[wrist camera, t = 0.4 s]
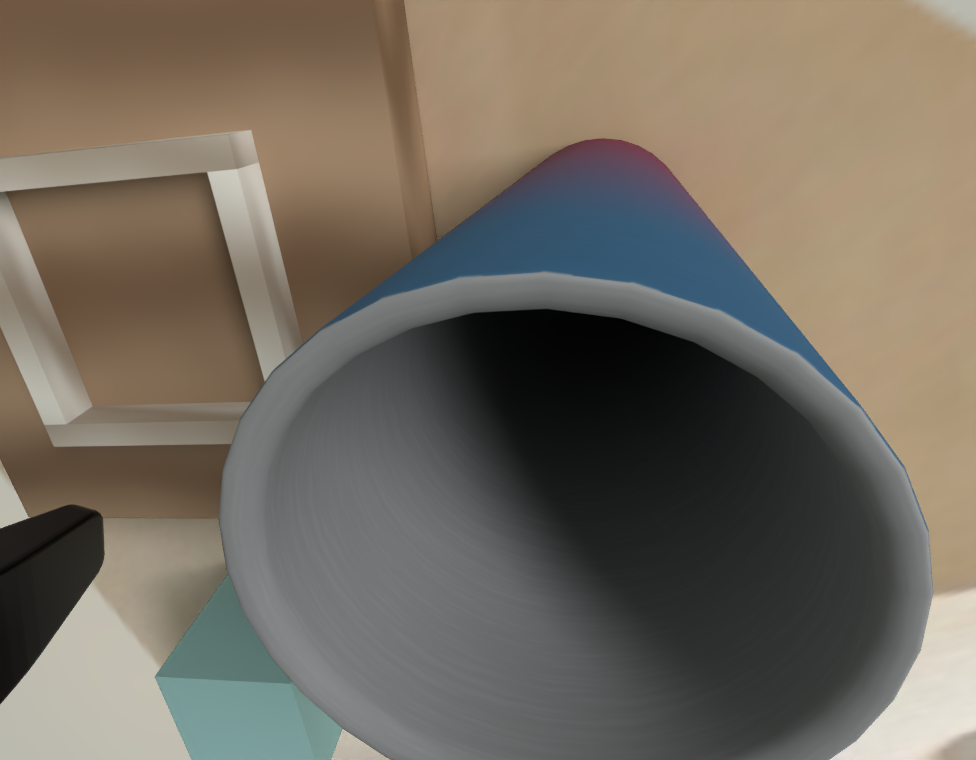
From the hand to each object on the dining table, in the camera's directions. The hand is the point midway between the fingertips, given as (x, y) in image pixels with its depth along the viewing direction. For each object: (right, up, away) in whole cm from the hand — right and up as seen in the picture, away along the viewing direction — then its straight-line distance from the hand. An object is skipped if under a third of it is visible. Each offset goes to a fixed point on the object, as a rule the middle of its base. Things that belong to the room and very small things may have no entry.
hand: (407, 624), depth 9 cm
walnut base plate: (-8, +7, +13) cm, 17 cm away
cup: (+4, +8, +11) cm, 14 cm away
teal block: (-7, -6, +20) cm, 22 cm away
